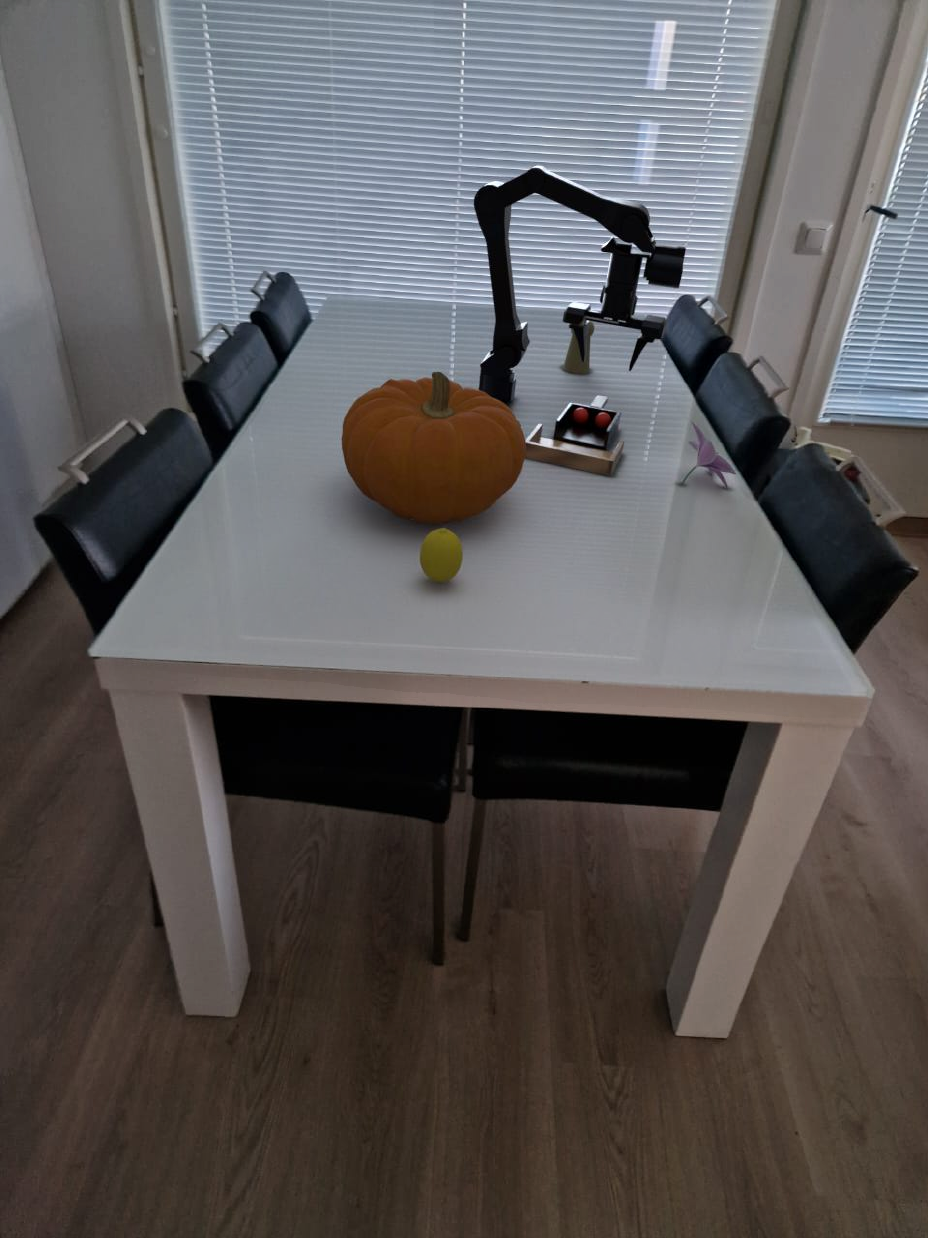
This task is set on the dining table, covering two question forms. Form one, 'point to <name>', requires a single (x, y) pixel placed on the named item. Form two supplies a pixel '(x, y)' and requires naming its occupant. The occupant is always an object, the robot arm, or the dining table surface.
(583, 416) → the tomato
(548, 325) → the dining table surface
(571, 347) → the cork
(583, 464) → the tray
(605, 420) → the tomato
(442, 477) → the pumpkin
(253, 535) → the dining table surface
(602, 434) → the pan
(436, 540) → the lemon
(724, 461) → the lily
